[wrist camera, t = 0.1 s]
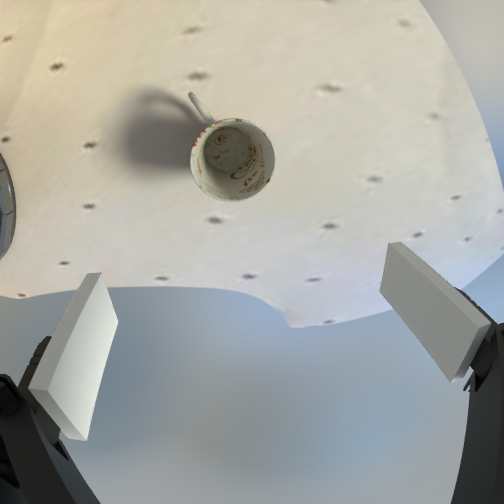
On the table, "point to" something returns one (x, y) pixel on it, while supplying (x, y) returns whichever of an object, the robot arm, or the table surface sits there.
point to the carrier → (6, 208)
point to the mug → (231, 157)
